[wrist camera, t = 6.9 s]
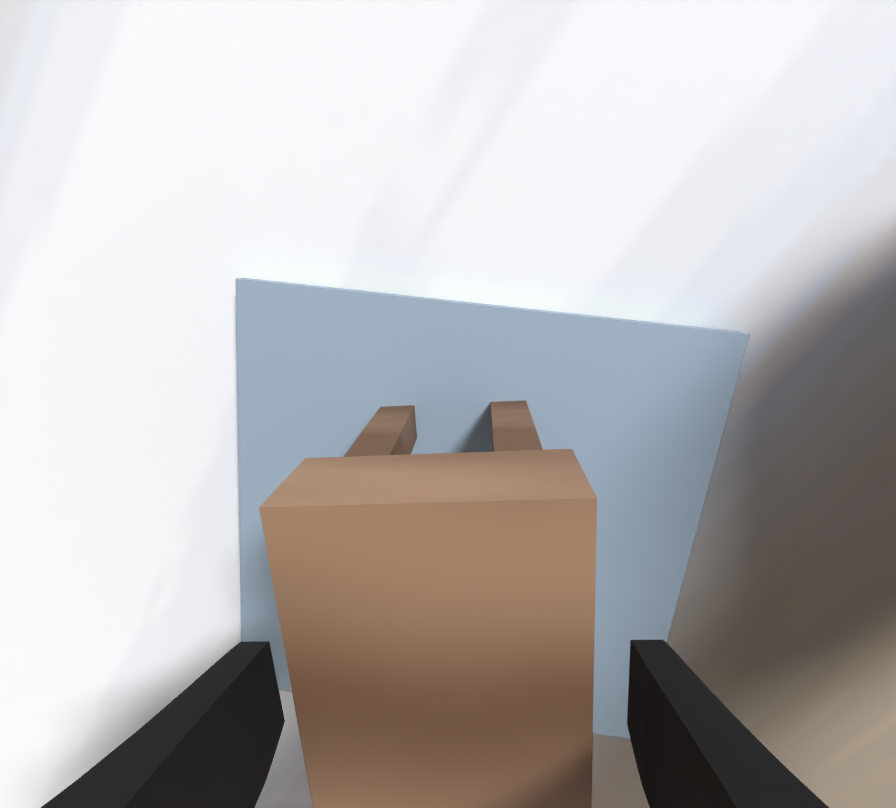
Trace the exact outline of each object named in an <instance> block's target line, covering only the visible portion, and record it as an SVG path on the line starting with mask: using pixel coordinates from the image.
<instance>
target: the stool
mask: <svg viewBox="0 0 896 808" xmlns="http://www.w3.org/2000/svg"><path fill="white" fill-rule="evenodd" d="M491 422H492V442H493V452H466V453H437V454H411V453H412V450H413V447H414V445H415V442H416V440H417V430H416V418H415V406H414V405H408V406H385V407H380V408H379V409H378V411H377V412H376V413H375V415H374V416H373V417H372V419H371V420H370V421H369V423H368V424H367V425H366V427H365V428H364V429H363V431H362V432H361V434H360V435H359V436H358V438H357V439H356V440H355V442H354V443H353V444H352V446H351V447H350V448H349V450H348V451H347V452H346V454H345V455H344V456H343V457H324V458H305V459H304V460H303V461H302V462H301V463H300V464H299V465H298V466H297V467H296V468H295V470H294V471H293V472H292V473H291V474H290V475H289V476H288V477H287V478H286V479H285V480H284V481H283V482H282V483H281V484H280V485H279V487H278V488H277V489H276V490H275V491H274V492H273V493H272V494H271V495H270V496H269V497H268V498H267V499H266V500H265V501H264V503H263V504H262V505H261V506H260V507H259V511H260V516H261V522H262V527H263V533H264V538H265V544H266V549H267V555H268V561H269V566H270V572H271V577H272V583H273V588H274V594H275V599H276V605H277V610H278V616H279V621H280V627H281V632H282V638H283V643H284V649H285V655H286V660H287V666H288V671H289V677H290V682H291V688H292V693H293V699H294V704H295V710H296V715H297V721H298V726H299V732H300V738H301V743H302V749H303V754H304V760H305V765H306V771H307V776H308V782H309V787H310V793H311V798H312V804H313V808H591V797H592V744H593V691H594V638H595V585H596V532H597V497H596V495H595V493H594V491H593V489H592V487H591V485H590V483H589V481H588V479H587V477H586V475H585V473H584V471H583V469H582V468H581V466H580V464H579V462H578V460H577V458H576V456H575V454H574V452H573V450H572V449H551V450H543V448H542V445H541V443H540V440H539V437H538V434H537V431H536V428H535V425H534V422H533V419H532V416H531V414H530V411H529V408H528V405H527V402H526V400H523V401H500V402H491Z"/></svg>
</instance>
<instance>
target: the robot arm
mask: <svg viewBox="0 0 896 808" xmlns="http://www.w3.org/2000/svg"><path fill="white" fill-rule="evenodd" d="M284 722H285V721H284V715H283V710H282V705H281V700H280V694H279V689H278V684H277V679H276V673H275V668H274V663H273V658H272V652H271V647H270V642H269V641H253V642H240V643H239V644H237V645H236V646H235V647H234V648H233V649H231V650H230V651H229V652H228V653H227V654H225V655H224V656H223V657H222V658H221V659H220V660H218V661H217V662H216V663H215V664H214V665H213V666H212V667H211V668H209V669H208V670H207V671H206V672H205V673H204V674H203V675H201V676H200V677H199V678H198V679H197V680H196V681H195V682H194V683H192V684H191V685H190V686H189V687H188V688H187V689H186V690H184V691H183V692H182V693H181V694H180V695H179V696H178V697H176V698H175V699H174V700H173V701H172V702H171V703H169V704H168V705H167V706H166V707H165V708H164V709H163V710H161V711H160V712H159V713H158V714H157V715H156V716H154V717H153V718H152V719H151V720H150V721H149V722H147V723H146V724H145V725H144V726H143V727H142V728H140V729H139V730H138V731H137V732H136V733H134V734H133V735H132V736H131V737H130V738H128V739H127V740H126V741H125V742H123V743H122V744H121V745H120V746H118V747H117V748H116V749H115V750H113V751H112V752H111V753H110V754H109V755H107V756H106V757H105V758H104V759H102V760H101V761H100V762H99V763H97V764H96V765H95V766H94V767H93V768H91V769H90V770H89V771H88V772H86V773H85V774H84V775H83V776H81V777H80V778H79V779H78V780H76V781H75V782H74V783H73V784H71V785H70V786H69V787H67V788H66V789H65V790H64V791H62V792H61V793H60V794H58V795H57V796H56V797H54V798H53V799H52V800H50V801H49V802H48V803H46V804H45V805H44V806H42V807H41V808H254V807H255V805H256V802H257V800H258V798H259V796H260V793H261V791H262V788H263V786H264V784H265V781H266V779H267V776H268V773H269V770H270V767H271V764H272V760H273V757H274V754H275V751H276V748H277V745H278V741H279V738H280V735H281V731H282V728H283V725H284ZM627 726H628V730H629V735H630V739H631V743H632V747H633V751H634V755H635V759H636V763H637V767H638V771H639V774H640V778H641V782H642V786H643V789H644V792H645V795H646V798H647V801H648V803H649V806H650V808H829V807H828V806H827V805H825V804H824V803H823V802H822V801H821V800H820V799H819V798H818V797H817V796H816V795H815V794H814V793H813V792H811V791H810V790H809V789H808V788H807V787H806V786H805V785H804V784H803V783H802V782H801V781H800V780H799V779H798V778H797V777H795V776H794V775H793V774H792V773H791V772H790V771H789V770H788V769H787V768H786V767H785V766H784V765H783V764H782V763H781V762H780V761H779V760H778V759H777V758H776V757H775V756H774V755H773V754H772V753H771V752H770V751H769V750H768V749H767V748H766V747H765V746H764V745H763V744H762V743H761V742H760V741H759V740H758V739H757V738H756V737H755V736H754V735H753V734H752V733H751V732H750V731H749V730H748V729H747V728H746V727H745V726H744V725H743V724H742V723H741V722H740V721H739V720H738V719H737V718H736V717H735V716H734V715H733V714H732V713H731V712H730V711H729V710H728V709H727V708H726V707H725V706H724V704H723V703H722V702H721V701H720V700H719V699H718V698H717V697H716V696H715V695H714V694H713V693H712V692H711V691H710V690H709V688H708V687H707V686H706V685H705V684H704V683H703V682H702V681H701V680H700V679H699V678H698V677H697V675H696V674H695V673H694V672H693V671H692V670H691V669H690V668H689V667H688V666H687V664H686V663H685V662H684V661H683V660H682V659H681V658H680V657H679V656H678V655H677V653H676V652H675V651H674V650H673V649H672V648H671V647H670V646H669V645H668V644H667V643H666V642H665V641H664V640H630V664H629V688H628V712H627Z"/></svg>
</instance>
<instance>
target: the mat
mask: <svg viewBox="0 0 896 808" xmlns="http://www.w3.org/2000/svg"><path fill="white" fill-rule="evenodd" d="M236 333H237V395H238V457H239V518H240V580H241V642H253V641H269V642H270V647H271V652H272V658H273V663H274V668H275V673H276V679H277V684H278V689H279V690H285V691H292V688H291V682H290V677H289V671H288V666H287V660H286V655H285V649H284V643H283V638H282V632H281V627H280V621H279V616H278V610H277V605H276V599H275V594H274V588H273V583H272V577H271V572H270V566H269V561H268V555H267V549H266V544H265V538H264V533H263V527H262V522H261V516H260V511H259V507H260V506H261V505H262V504H263V503H264V501H265V500H266V499H267V498H268V497H269V496H270V495H271V494H272V493H273V492H274V491H275V490H276V489H277V488H278V487H279V485H280V484H281V483H282V482H283V481H284V480H285V479H286V478H287V477H288V476H289V475H290V474H291V473H292V472H293V471H294V470H295V468H296V467H297V466H298V465H299V464H300V463H301V462H302V461H303V460H304V459H305V458H324V457H343V456H344V455H345V454H346V452H347V451H348V450H349V448H350V447H351V446H352V444H353V443H354V442H355V440H356V439H357V438H358V436H359V435H360V434H361V432H362V431H363V429H364V428H365V427H366V425H367V424H368V423H369V421H370V420H371V419H372V417H373V416H374V415H375V413H376V412H377V411H378V409H379V408H380V407H385V406H408V405H414V406H415V418H416V430H417V440H416V442H415V445H414V447H413V450H412V453H411V454H437V453H466V452H493V442H492V422H491V402H500V401H523V400H526V402H527V405H528V408H529V411H530V414H531V416H532V419H533V422H534V425H535V428H536V431H537V434H538V437H539V440H540V443H541V445H542V448H543V450H551V449H572V450H573V452H574V454H575V456H576V458H577V460H578V462H579V464H580V466H581V468H582V469H583V471H584V473H585V475H586V477H587V479H588V481H589V483H590V485H591V487H592V489H593V491H594V493H595V495H596V497H597V532H596V585H595V638H594V691H593V734H600V735H608V736H615V737H622V738H629V739H630V735H629V730H628V726H627V712H628V688H629V664H630V640H664V641H665V642H667V639H668V635H669V631H670V627H671V624H672V620H673V616H674V613H675V609H676V605H677V601H678V598H679V594H680V590H681V587H682V583H683V579H684V576H685V572H686V568H687V564H688V561H689V557H690V553H691V550H692V546H693V542H694V539H695V535H696V531H697V527H698V524H699V520H700V516H701V513H702V509H703V505H704V502H705V498H706V494H707V490H708V487H709V483H710V479H711V476H712V472H713V468H714V465H715V461H716V457H717V453H718V450H719V446H720V442H721V439H722V435H723V431H724V428H725V424H726V420H727V416H728V413H729V409H730V405H731V402H732V398H733V394H734V391H735V387H736V383H737V379H738V376H739V372H740V368H741V365H742V361H743V357H744V353H745V350H746V346H747V342H748V339H749V335H750V334H746V333H741V332H736V331H727V330H718V329H709V328H699V327H690V326H681V325H672V324H662V323H653V322H644V321H635V320H626V319H616V318H607V317H598V316H589V315H579V314H570V313H561V312H552V311H542V310H533V309H524V308H515V307H506V306H496V305H487V304H478V303H469V302H459V301H450V300H441V299H432V298H423V297H413V296H404V295H395V294H386V293H376V292H367V291H358V290H349V289H340V288H330V287H321V286H312V285H303V284H293V283H284V282H275V281H266V280H257V279H247V278H240V279H236Z"/></svg>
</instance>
